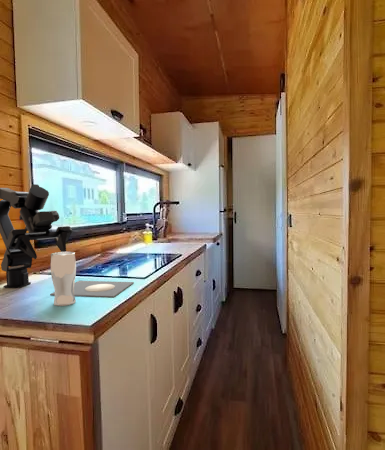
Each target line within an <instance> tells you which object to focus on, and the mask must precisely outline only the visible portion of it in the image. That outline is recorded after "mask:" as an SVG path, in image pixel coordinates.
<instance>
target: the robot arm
mask: <svg viewBox="0 0 385 450" xmlns="http://www.w3.org/2000/svg"><path fill="white" fill-rule="evenodd" d="M49 196H50V192H49V191H48V190H46V188H44V187H41V186H40V185H39V184H35V183H34V184H32V183H31V186H30V188H29V190H28V191H16V190H13V189H11V188H9V187H0V199H3V200H1V201H0V235H1V239H2V241H3V244H4V246H5V252H4V254H3V258H2V260H1V262H0V263H1V264H0V268H1V271H3V272H5V275H6V276H5V277H6V278H5V279H6V284H5V285H3V288H10V289H11V288H12V289H13V288H15V289H18V288H22V287H24V286H28V285H30V284H31V283H32V282H31V281H29V272H28V269H31V268H32V267H33V266H32V265H33V259H34V260H37V258H38V255H37V252H36V251H35V249H34V246H33V245H32V242H31V241H37V240H47V239H48V240H50V239H53V240H54V242H56V243H55V245H56V247H57V249H58V250H59V252H67V243H66V242H68V241H69V239H70V237H71V235H72V233H73V230H72V228H71V226H70V225H69V226H68V225H65V226H57V229H55V231H50V230H52V228H53V225H52V224H53V223H55V222H57V221H59V220H60V215H59V212H58V211H57V210H51V211H50V210H49V211H48V210H47V211H41V210H43V209H44V207H45V205H46V202H47V200H48V199H49ZM11 208H13V209H19V214H20V215H19V218H18V219H19V220H20V221H23V223H24V226H25V227H24V228H18V229H15V227H14V225H13V222H12V221H11V219H10V218H11V217H10V216H9V214H10V213H9V212H10V210H11Z"/></svg>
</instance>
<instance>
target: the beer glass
mask: <svg viewBox="0 0 385 450" xmlns="http://www.w3.org/2000/svg"><path fill="white" fill-rule="evenodd" d="M75 253H76V252H74V251H66V252H61V251H58V252H53V253H51V254H50V277H51V280H52V284H53V289H54V292H55V295H54V298H53V299H54V300H53V305H54V306H56V307H65V306H71V305H74V304H75V303H76V302H77V301H76V296H74V283H75V280H76V274H77V262H76V254H75Z"/></svg>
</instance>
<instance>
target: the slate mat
mask: <svg viewBox="0 0 385 450" xmlns="http://www.w3.org/2000/svg"><path fill="white" fill-rule="evenodd" d="M133 284H134V281H109V280H108V281H105V280H78V281H76V282H75V283H74V296H75V297H90V298H93V297H94V298H115V297H117V296H118V295H119V294H121V293H122V292H124V291H125V290H126V289H128V288H129V287H130V286H132V285H133ZM127 287H128V288H127ZM123 290H124V291H123ZM49 294H50V296H55V291H53V292H52V293H49ZM116 295H117V296H116Z"/></svg>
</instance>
